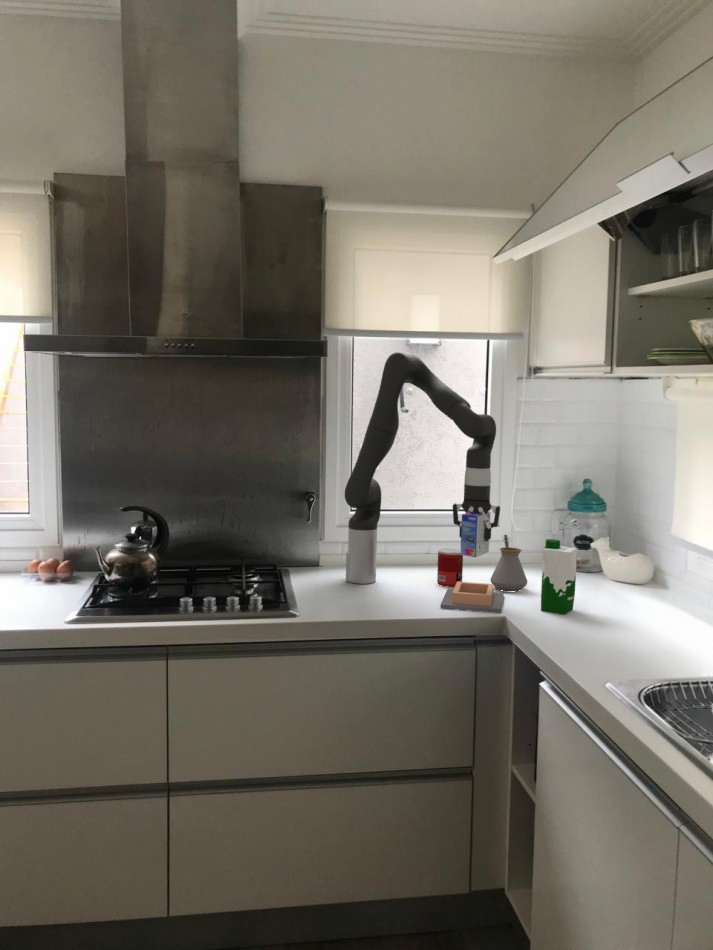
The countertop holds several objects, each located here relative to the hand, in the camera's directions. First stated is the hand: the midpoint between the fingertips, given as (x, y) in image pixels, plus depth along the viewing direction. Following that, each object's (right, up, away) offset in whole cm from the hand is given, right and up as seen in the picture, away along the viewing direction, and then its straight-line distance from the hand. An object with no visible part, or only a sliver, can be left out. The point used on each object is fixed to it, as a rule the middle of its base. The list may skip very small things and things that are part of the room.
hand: (475, 540), depth 243 cm
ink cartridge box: (0, -4, +1) cm, 4 cm away
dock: (0, -18, +2) cm, 19 cm away
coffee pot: (+14, -17, +24) cm, 32 cm away
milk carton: (+23, -20, -5) cm, 31 cm away
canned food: (-5, -16, +24) cm, 30 cm away
